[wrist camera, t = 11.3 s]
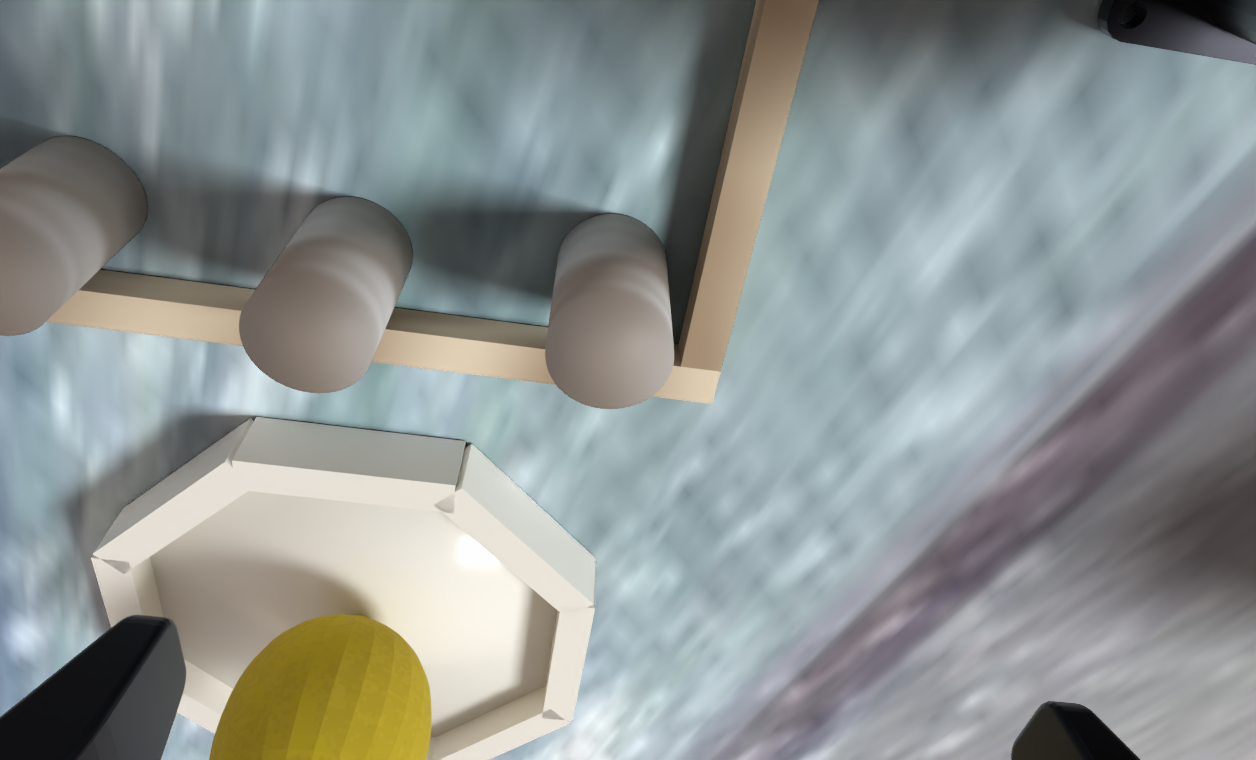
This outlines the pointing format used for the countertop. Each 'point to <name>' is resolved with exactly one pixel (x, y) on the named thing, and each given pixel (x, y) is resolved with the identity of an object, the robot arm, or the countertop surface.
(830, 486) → the countertop surface
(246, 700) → the lemon
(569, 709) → the dish
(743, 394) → the countertop surface
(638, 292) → the spacer field
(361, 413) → the countertop surface
